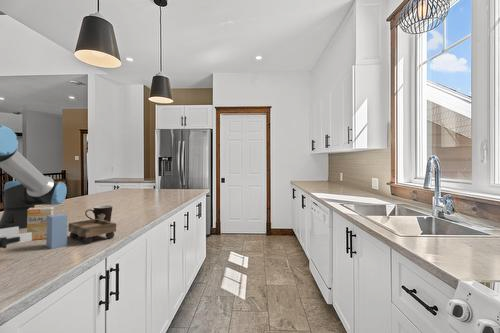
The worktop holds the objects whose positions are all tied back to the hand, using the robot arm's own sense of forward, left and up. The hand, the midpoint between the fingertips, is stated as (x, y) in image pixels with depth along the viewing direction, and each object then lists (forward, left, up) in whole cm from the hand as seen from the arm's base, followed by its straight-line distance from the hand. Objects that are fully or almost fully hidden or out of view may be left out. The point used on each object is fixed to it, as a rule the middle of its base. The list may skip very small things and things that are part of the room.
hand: (24, 233), depth 92 cm
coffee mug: (-20, +36, -7) cm, 42 cm away
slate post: (0, +10, -7) cm, 12 cm away
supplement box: (-17, +10, -7) cm, 21 cm away
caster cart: (0, +23, -7) cm, 24 cm away
